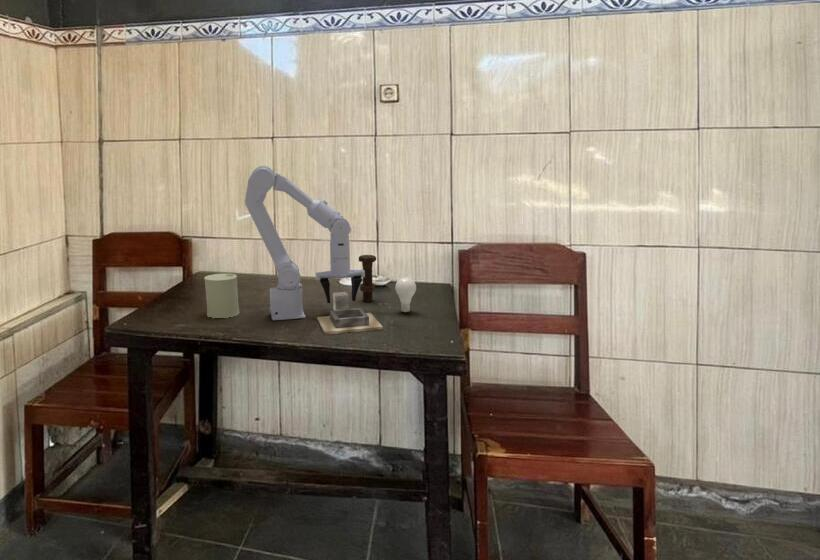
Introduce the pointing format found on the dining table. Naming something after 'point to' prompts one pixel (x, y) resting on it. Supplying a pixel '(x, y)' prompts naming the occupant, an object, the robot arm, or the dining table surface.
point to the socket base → (348, 321)
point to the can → (221, 295)
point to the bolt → (367, 277)
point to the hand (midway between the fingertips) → (341, 301)
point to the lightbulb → (405, 292)
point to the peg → (340, 301)
